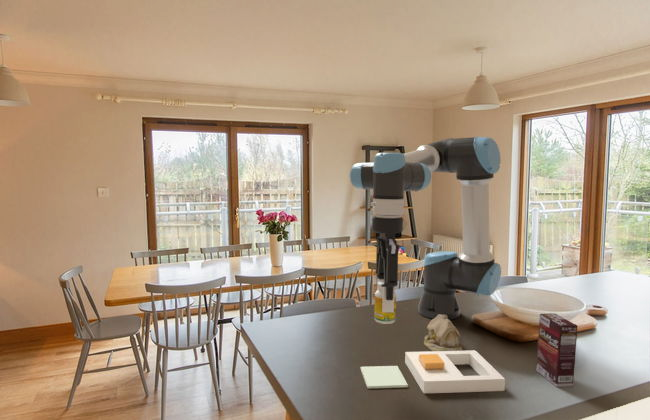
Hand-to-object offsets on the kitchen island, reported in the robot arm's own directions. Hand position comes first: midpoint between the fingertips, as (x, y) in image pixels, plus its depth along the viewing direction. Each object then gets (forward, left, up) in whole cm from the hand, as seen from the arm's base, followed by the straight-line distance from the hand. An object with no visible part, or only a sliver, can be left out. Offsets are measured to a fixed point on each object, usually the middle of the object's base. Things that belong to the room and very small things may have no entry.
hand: (385, 307), depth 103 cm
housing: (0, +18, -18) cm, 26 cm away
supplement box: (+3, +44, -19) cm, 48 cm away
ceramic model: (-18, +23, -19) cm, 34 cm away
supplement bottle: (0, 0, -3) cm, 3 cm away
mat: (0, 0, -18) cm, 18 cm away
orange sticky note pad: (0, +12, -18) cm, 22 cm away
